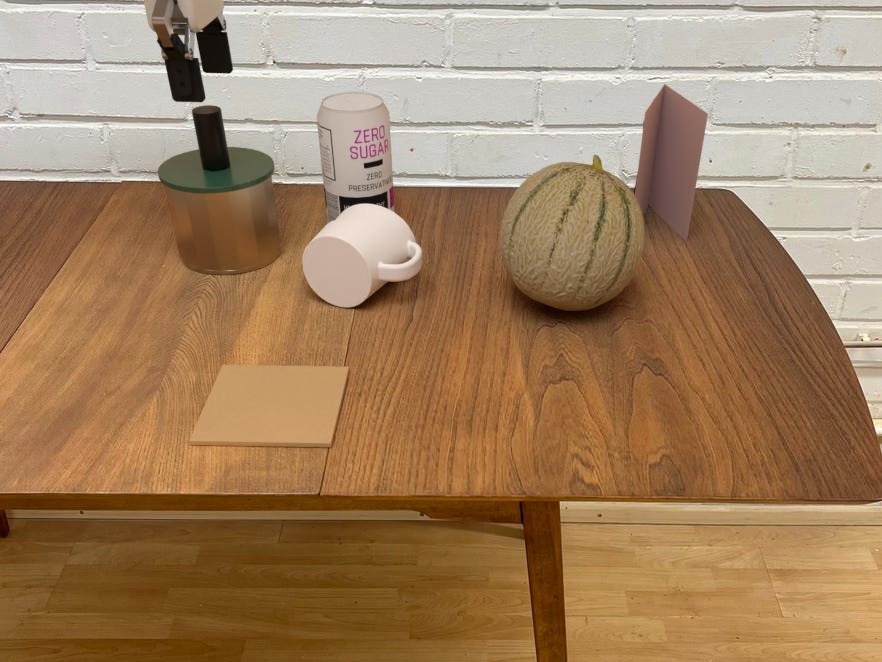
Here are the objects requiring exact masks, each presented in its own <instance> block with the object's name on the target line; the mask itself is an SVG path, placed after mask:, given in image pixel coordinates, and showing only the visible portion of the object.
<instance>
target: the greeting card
mask: <svg viewBox="0 0 882 662" xmlns="http://www.w3.org/2000/svg"><path fill="white" fill-rule="evenodd" d="M708 116H709V113H707V111H705V110H704V109H702V108H700V107H699V106H698V105H697V104H695V103H694V102H691V100H689V99H688V98H686V97H684V96H683V95H682V94H681V93H678V92H677V91H676V90H674V89H673V88H671V87H670V86H668V85H667V84H665V83H664V84H663V85H662V87H661V89H660V90H659V91H658V93H656V96H655V97H654V98H653V100H652V102H651V103H650V104H649V105H648V107H647V109H646V110H645V113H644V118H643V121H642V135H641V142H640V150H639V158H638V167H637V173H636V178H635V183H634V189H633V193H634V195H635V197H636V198H637V200H638V202H639V204H640V207H641V210H642V213H643V214H644V215H645V213H646V211H647V210H648V207H649V206H650V207H651V208H652V209H653V210H652V209H651V208H650V207H649V208H650V209H651V210H652V211H653V212H654V213H655V212H656V213H655V214H657V216H658V215H659V216H660V217H659V216H658V217H659V218H660V219H661V220H662V221H663V222H664V223H666V225H668V227H670V228H671V229H672V230H673V231H674V232H675V233H676V234H677V235H678V236H679V237H680V238H681V239H682V240H683V241H685V243H687V242H688V236H689V228H690V223H691V218H692V211H693V207H694V206H693V205H694V200H695V195H696V194H695V193H696V188H697V182H698V176H699V171H700V164H701V159H702V153H703V147H704V141H705V134H706V129H707V124H708V123H707V122H708V118H709V117H708ZM648 205H649V206H648Z"/></svg>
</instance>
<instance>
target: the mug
mask: <svg viewBox="0 0 882 662" xmlns="http://www.w3.org/2000/svg"><path fill="white" fill-rule="evenodd" d="M394 212H395V211H394ZM394 212H393V211H391V210H389V209H387V208H385V207H382V206H379V205H375V204H357V205H353V206H351V207H348V208H347V209H345V210H344V211H343V212H342V213H341V214H340V215H339V216H338V217H337V218H336V219H335V220H334V221H331V222H329V223H327V224H325V226H323V228H322V229H321V230H319V232H318V233H317V234H316V235H315V237H313V239H312V240H311V241H309V243H308V244H307V245H306V247H305V249H304V251H303V253H302V259H301V264H302V265H301V266H302V271H303V276H304V277H305V279H306V282H307V283H308V285H309V287H310V288H311V289H312V291H313V292H314V293H315V294H316V295H317V296H318V297H320V298H321V299H322V300H324V301H325V302H326V303H329V304H331V305H332V306H334V307H335V306H336V307H340V308H353V307H358V306H359V305H361V304H363V303H364V302H365V301H366V300H367V299H368V298H370V297H371V296H372V295H373V294H374V293H376V292H377V291H378V290H380V289H381V288H382V287H383V286H384V285H385V284H387V283H388V282H389V283H390V282H393V283H400V282H406V281H408V280H410V279H412V278H414V277H415V276H417V275H418V274H419V273H420V271H421V269H422V266H423V249H422V247H421V246H420V245H419V244H418V243H417V241H416V238H415V235H414V232H413V231H412V230H411V228H410V225H408V223H407V222H406V221H405V220H404V219H403V218H402V217H401V216H400V215H398V213H396V212H395V213H394Z"/></svg>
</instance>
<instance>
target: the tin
mask: <svg viewBox="0 0 882 662" xmlns="http://www.w3.org/2000/svg"><path fill="white" fill-rule="evenodd" d="M272 175H273V174H272ZM272 175H271V177H269V178H268V179H267V180H265V181H263V182H261V183H259V184H257V185H254V186H252V187H249V188H245V189H241V190H236V191H231V192H224V193H189V192H183V191H178V190H174V189H171V188H169V187H167V186H165V185H164V184H163V186H164V190H165V194H166V198H167V199H166V200H167V204H168V209H169V213H170V218H171V223H172V228H173V232H174V235H175V236H174V237H175V241H176V246H177V249H178V254H179V255H178V256H179V257H180V259H181V262H182V263H183V265H185V266H186V267H187V268H189V270H192V271H195V272H198V273H200V274H201V273H202V274H206V275H217V276H227V275H228V276H229V275H238V274H244V273H249V272H252V271H256V270H260V269H262V268H265V267H266V266H269V265H270V264H272V263H273V262H275V261H276V260H277V259H278V258H279V256H280V255H281V252H282V240H281V233H280V226H279V218H278V211H277V205H276V204H277V203H276V200H275V199H276V197H275V191H274V183H273V176H272Z"/></svg>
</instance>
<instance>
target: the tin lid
mask: <svg viewBox="0 0 882 662" xmlns="http://www.w3.org/2000/svg"><path fill="white" fill-rule="evenodd" d="M191 114H192V116H191V117H192V121H193V126H194V131H195V137H196V142H197V146H198V149H193V150H189V151H185V152H182V153H179V154H176V155H174V156H171V157H170V158H168V159H166V160H165V161H163V162H162V163H161V164H160V165H159V167H158V168H157V177H158V180H159V181H160V182H161V184H162V185H163V186H164V185H165V186H167V187H169V188H171V189H174V190H178V191H183V192H189V193H224V192H231V191H236V190H241V189H245V188H249V187H252V186H254V185H257V184H259V183H261V182H263V181H265V180H267V179H268V178H269V177H271V175H273V174H274V172H275V168H276V167H275V162H274V159H273V157H271V156H270V155H268V154H267V153H265V152H263V151H260V150H257V149H254V148H248V147H240V146H228V141H227V137H226V136H227V135H226V131H225V125H224V119H223V112H222V108H221V107H220V106H217V105H211V104H205V105H199V106H196V107H194V108H192V109H191ZM165 186H164V187H165Z"/></svg>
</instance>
